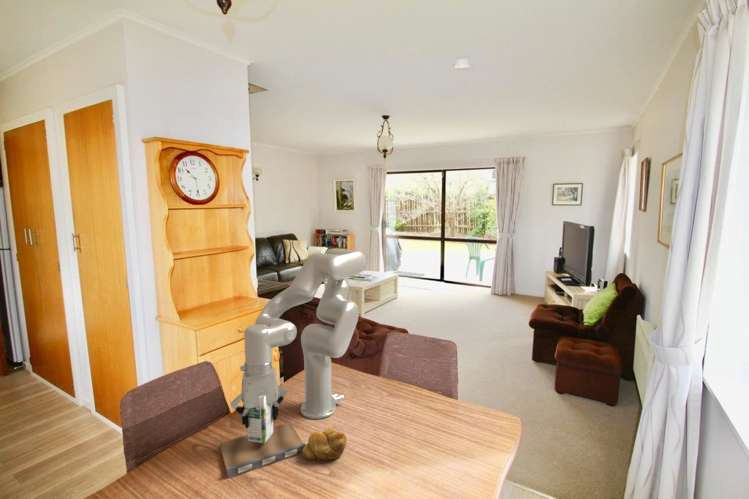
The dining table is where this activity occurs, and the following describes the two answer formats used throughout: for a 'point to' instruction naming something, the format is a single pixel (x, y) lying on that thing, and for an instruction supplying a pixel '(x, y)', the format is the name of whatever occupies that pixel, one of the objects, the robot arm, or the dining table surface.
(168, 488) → the dining table surface
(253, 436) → the syrup box
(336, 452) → the bread roll
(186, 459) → the dining table surface
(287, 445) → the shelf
